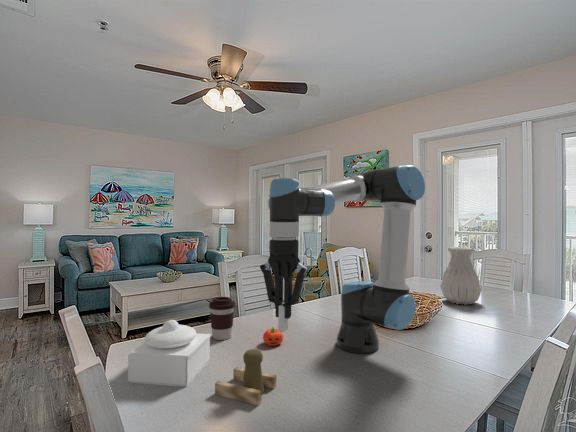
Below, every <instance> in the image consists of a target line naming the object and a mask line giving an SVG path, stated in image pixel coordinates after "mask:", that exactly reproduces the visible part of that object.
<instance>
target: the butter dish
mask: <svg viewBox="0 0 576 432" xmlns="http://www.w3.org/2000/svg"><path fill="white" fill-rule="evenodd" d="M211 337H212V333H200V332H199V333H197V330H196V329H195V328H193V327H191V326H189V325H186V324H185V325H184V324H179V322H178V321H176V320H175V319H169V320H166V321H165V322H164V324H163V325H162V326H159V327H156V328H154V329H152V330H151V331H149V332H148V333H146V335H145V336H144V342H143V343H141V344H140V345H139V346H137V347H136V348H134V349H133V350H131V351H129V353H128V354H127V355H128V357H127V358H128V359H127V361H128V362H127V364H128V365H127V369H128V370H127V382H128V383H130V384H143V385H144V384H145V385H157V386H158V385H159V386H169V387H181V388H182V387H184V388H187V387H188V386H189V385H190V384H191V383H192V382H193V380H195V378H196V377H197V376H198V375H199V373H200V372H201V371H202V370H203V368H205V366H206V365H207V364H208V363H209V362H210V359H211V358H210V356H211V355H210V354H211V352H210V349H211V345H210V344H211Z"/></svg>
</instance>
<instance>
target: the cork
mask: <svg viewBox="0 0 576 432" xmlns="http://www.w3.org/2000/svg"><path fill="white" fill-rule="evenodd" d="M263 356H264V355H263V353H262V351H261V350H259V349H256V348H255V349H254V348H251V349H248V350H246V351H245V352H244V354H243V358H242V359H243V364H245V365H244V369H245V371H244V378H243V382H242V386H243V387H247V388H252V389H256V390H260V391H261V396H263V395H264V393H265V387H264V386H263V378H262V372H263V371H262V362H263V359H264V357H263Z"/></svg>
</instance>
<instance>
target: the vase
mask: <svg viewBox="0 0 576 432" xmlns="http://www.w3.org/2000/svg"><path fill="white" fill-rule="evenodd" d="M447 250H448V252H449V253H450V259H449V263H448V265H447V266H446V267H445V271H444V272H443V275H442V278H441V279H442V280H441V282H440V289H441V293H442V296H443V297H444V299H446V300H447V301H448V302H449V301H450V302H449V303H451V302H452V303H451V304H454V303H456V304H455V305H458V304H462V305H461V306H468V305H467V304H471V305H472V304H474V303H476V302H478V300H479V298H480V296H481V293H482V288H481V284H480V279H479V276H478V274H477V272H476V271H477V270H476V269H475V268H474V265H473V264H472V260H471V255H472V253H473V252H474V248H473V247H464V246H449V247H447ZM463 304H464V305H463Z"/></svg>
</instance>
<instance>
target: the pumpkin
mask: <svg viewBox="0 0 576 432" xmlns="http://www.w3.org/2000/svg"><path fill="white" fill-rule="evenodd" d="M262 340H263V341H264V343H265V344H266V345H268V346H269V347H270V346H271V347H273V346H274V347H275V346H279V345H280V344H282V343H283V342H284V334H283V332H278V328H277V329H276V328H275V327H274V326H272V328H270V329H267V330H265V331H264V333H263V335H262Z"/></svg>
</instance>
